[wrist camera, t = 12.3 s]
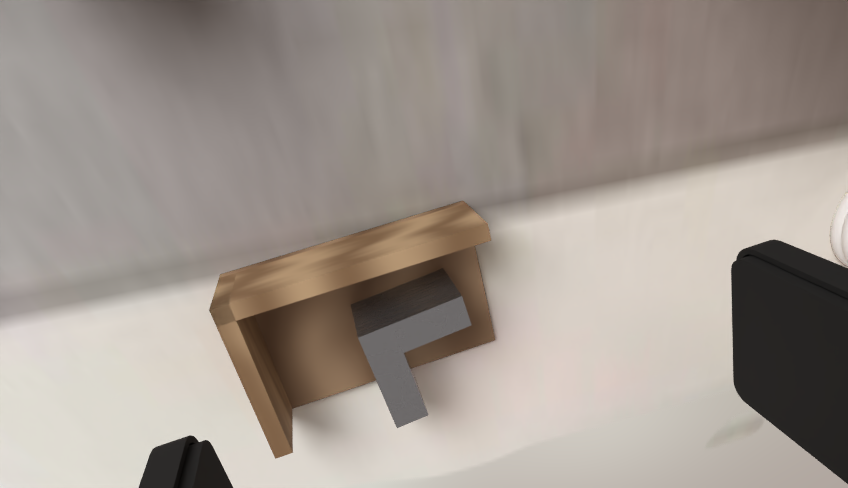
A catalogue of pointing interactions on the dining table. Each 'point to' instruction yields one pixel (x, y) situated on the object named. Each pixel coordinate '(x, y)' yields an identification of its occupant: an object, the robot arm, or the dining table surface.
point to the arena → (340, 310)
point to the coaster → (840, 231)
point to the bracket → (406, 335)
